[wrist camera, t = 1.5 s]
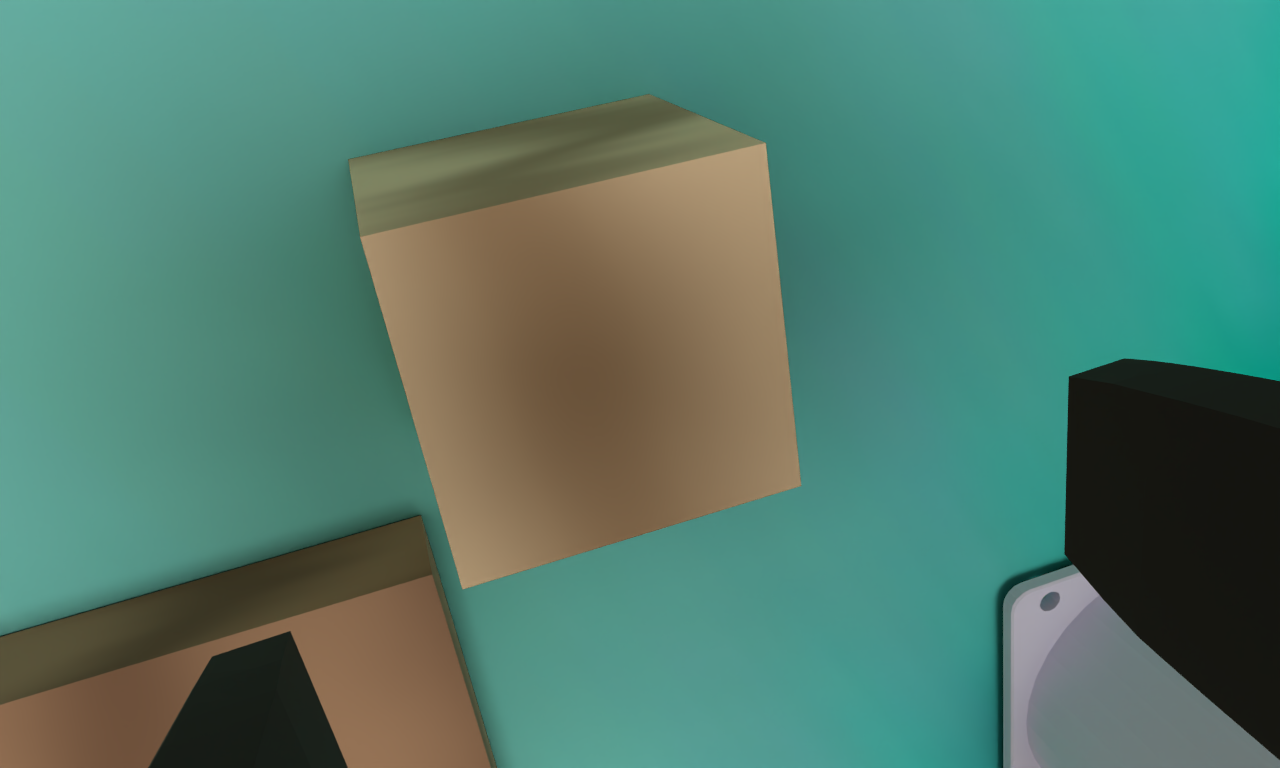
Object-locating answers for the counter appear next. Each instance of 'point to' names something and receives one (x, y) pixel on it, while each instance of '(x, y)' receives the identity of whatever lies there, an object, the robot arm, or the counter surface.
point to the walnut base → (241, 615)
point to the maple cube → (583, 326)
